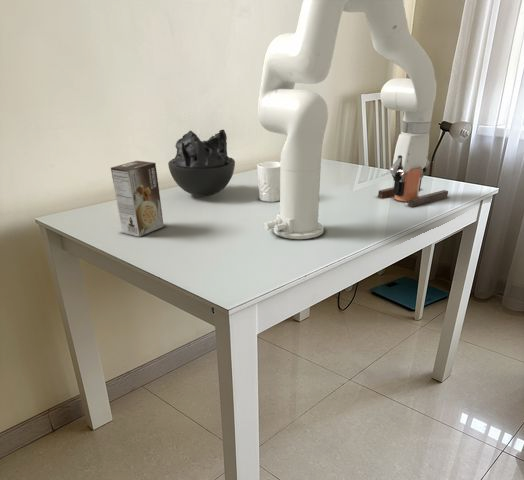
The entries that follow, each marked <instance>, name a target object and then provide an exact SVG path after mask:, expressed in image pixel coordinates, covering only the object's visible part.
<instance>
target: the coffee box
mask: <svg viewBox="0 0 524 480" xmlns="http://www.w3.org/2000/svg"><path fill="white" fill-rule="evenodd" d="M156 164H157V163H156V162H152V161H151V162H150V161H143V160H135V161H131V162H126V163H123V164H119V165H116V166H112V167H110V171H111V177H112V182H113V183H112V184H113V189H114V194H115V199H116V205H117V212H118V216H119V223H120V229H121V233H122V234H126V235H130V236H135V237H143V236H145V235H147V234H150V233H152V232H154V231H156V230H159V229H162V228H164V227H165V226H164V224H165V223H164V218H163V209H162V203H161V194H160V187H159V179H158V172H157V165H156Z"/></svg>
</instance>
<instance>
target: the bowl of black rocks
mask: <svg viewBox="0 0 524 480" xmlns="http://www.w3.org/2000/svg"><path fill="white" fill-rule="evenodd" d="M227 140H228V137H227V133H226V131H225V129H219V131H218V133H215V134H214V135H211V136H210V137H209V138H208V139H207V140H200V138H199V137H198V135H197V134H196V133H195V132H194V131H192V130H189V131H187V133H185V134H183V135H182V137H181V138H179V139H178V140H177V141H176V143H175V146H174V147H175V148H176V154H175V157H174V158H172V159H170V160H169V161H168V163H167V165H168V170H169V173H170V175H171V177H172V179H173V180H174V182H175V183H176V184H177V186H178V187H179V188H180V189H182V191H184V192H186V193H188V194H190V195H193V196H197V197H210V196H212V195H215V194H218V193H219V192H221V191H222V190H224V189H225V188H226V187H227V185H228V184H229V183H230V181H231V179H232V177H233V175H234V172H235V167H236V161H235V159H234V158H233V157H229V156H228V146H227V145H228V141H227Z"/></svg>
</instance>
